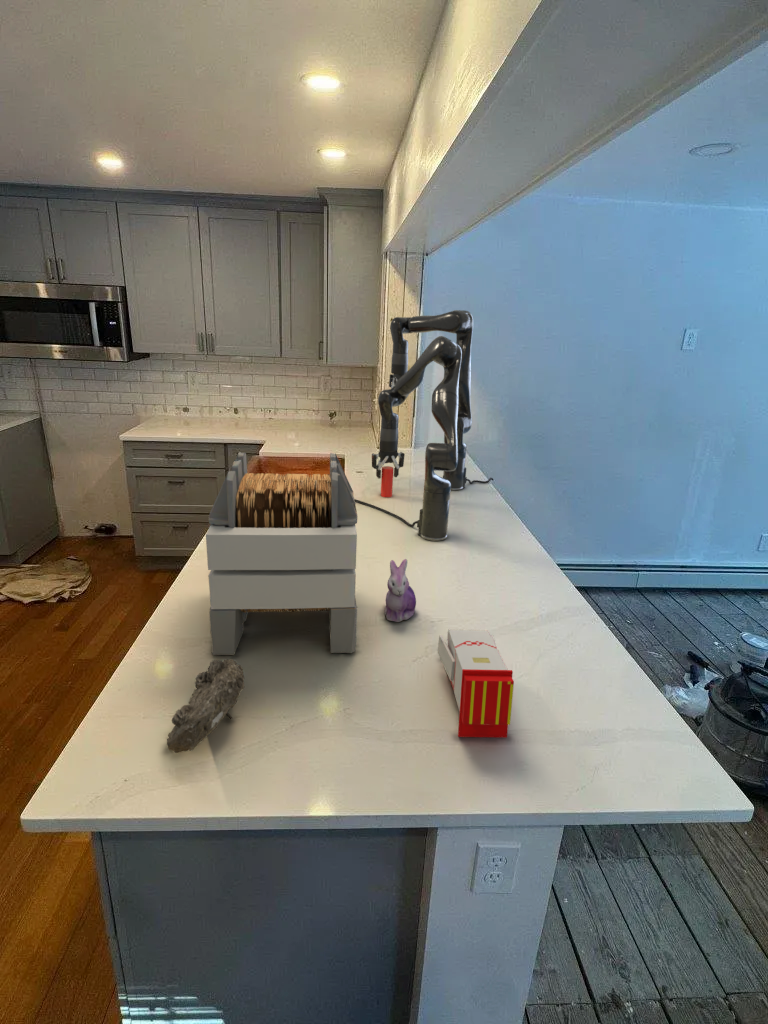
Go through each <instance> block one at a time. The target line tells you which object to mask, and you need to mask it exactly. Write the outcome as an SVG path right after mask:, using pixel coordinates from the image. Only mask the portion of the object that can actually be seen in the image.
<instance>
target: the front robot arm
mask: <svg viewBox="0 0 768 1024" xmlns="http://www.w3.org/2000/svg"><path fill="white" fill-rule="evenodd" d="M461 357H462V351H461V348H460V346H459V345H458V344H456V342H455V341H452V340H451V339H449V338H448V337H446V336H443V335H438V336H437V337H435V338H434V339H433V340H432V341H431V342H430V343H429V344H428V346H426V348H425V349H424V351H423V352H422V353H421V354H420V356H419V357H418V358H417V359H416V361H415V362H414V363H413V364H412V366H411V367H410V368H409V369H408V371H407V372H406V373H405V374H404V375H403V376H402V377H401V378H400V379H398V380H397V382H396V383H395V388H394V389H391V388H389V389H383V390H381V391H380V392H379V394H378V396H377V404H378V408H379V413H380V430H379V450H378V451H379V452H378V453H372V454H371V468H372V469H374V470H376V472H375V475H376V478H377V479H380V480H381V476H382V467H384V466H385V464H392V465H393V468H394V469H393V478H398V477H399V476H400V475H399V471H400V468H403V467H404V465H405V464H404V463H405V456H406V455H405V453H404V452H403V451H400V452H398V449H399V421H400V420H399V414H397V413H396V412H393V408H395V407H399V406H401V405H402V404H403V403H404V402H405V401H406V400H407V398H408V397H409V395H410V394H411V393H413V392H414V391H415V390H416V389H417V388H418V387H419V386H420V385H421V383H422V382H423V379H424V376H425V373H426V372H425V371H426V368H427V367H428V365H429V364H431V363H436V364H438V365H439V366H441V367H442V368H443V379H442V380H441V381H440V383H438V385H436V386H435V388H434V390H433V392H432V393H431V414H432V417H433V418H434V420H435V422H436V423H437V424H438V425H439V427H440V428H441V430H442V432H443V434H444V433H445V436H446V438H447V442H448V444H446V443H444V442H429V443H428V444H427V445H426V448H425V452H424V453H425V454H424V479H423V481H424V482H423V493H422V496H423V497H422V506H421V508H420V509H419V516H418V520H416V521H413V522H412V524H411V523H409V522H408V521H407V520H406V519H404V518H403V517H401V516H399V515H398V514H395V513H393V512H391V511H389V510H386V509H383V508H382V507H380V506H377V505H374V504H371V503H368V502H365V501H362V500H359V499H356V498H354V501H355V503H359V504H362V505H365V506H367V507H370V508H374V509H376V510H378V511H381V512H384V513H385V514H388V515H390V516H392V517H395V518H396V519H398V520H400V521H402V522H403V523H404V524H405V525H407V526H408V527H409V528H413V527H415V526H416V528H418V530H417V535H418V536H420V538H421V539H424V540H426V541H432V542H440V541H444V540H446V539H447V538H448V525H449V517H450V516H449V514H450V504H451V494H452V493H451V491H452V490H451V483H450V482H449V481H448V480H446V479H444V478H443V476H442V477H441V476H440V475H438V474H437V473H435V472H436V471H437V472H443V471H454V470H455V469H456V467H457V464H458V440H457V419H458V385H459V372H460V365H461ZM378 458H379V459H378ZM397 458H398V461H397ZM377 460H378V462H377Z"/></svg>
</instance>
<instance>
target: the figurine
mask: <svg viewBox="0 0 768 1024" xmlns="http://www.w3.org/2000/svg"><path fill="white" fill-rule="evenodd" d="M407 567H408V559H406V558H404V559H403V560H402V561H401V563H400V565H399V566H398V565H397V563H396V562H395V561H394V560H393V559H391V560H390V561H389V570H390V576H389V578H388V579H387V589H388V591H387V592H386V594H385V595H386V596H385V607H384V615H385V616H386V620H387V621H391V622H395V623H400V622H402V621H406V620H409V619H410V618H411V617H413V616H414V615H415V610H416V606H417V597H416V593H415V591H414V590H413V587H411V586H410V582H409V579H408V577H407V574H406V571H407Z"/></svg>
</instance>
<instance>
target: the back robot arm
mask: <svg viewBox="0 0 768 1024" xmlns="http://www.w3.org/2000/svg"><path fill="white" fill-rule="evenodd" d="M473 317H474V316H473V315H472V313H471V312H470V311H469V310H466V309H465V310H464V309H462V310H461V309H454V310H451V311H448V312H444V313H442V314H436V315H435V314H434V315H414V316H411V317H410V316H408V317H406V316H405V317H404V316H395V317H393V318H392V319H391V322H390V325H389V329H390V335H391V341H392V354H391V364H390V365H391V367H390V370H391V371H390V372H391V373H390V374H389V380H388V381H389V382H388V387H389V388H390V389H394V388H395V383H396V382H397V380H398V379H400V378H401V377H402V376H403V375H404V374H405V373H406V372H407V371H408V370H409V369H408V368H409V341H408V340H407V339H405V338H404V335H406V334H408V335H409V334H422V333H429V332H430V333H431V332H444V333H449V334H454V335H456V336H455V337H456V339H455V340H456V342H455V343H456V344H458V345H459V346H460V348H461V351H462V357H461V365H460V372H459V385H458V419H457V440H458V464H457V467H456V469H455V470H454V471H442V478H444V479H446V480H448V481H449V482H450V483H451V491H461V490H463V489H465V488H466V484H467V482H468V483H469V484H470V485H472V484H474V483H479V484H488V483H490V482H491V481H494V478H493V477H489V478H488V479H487V480H485V481H483V480H477V479H473V480H470V479H469V478H467V476H466V475H467V467H466V456H467V444H466V443H465V442H464V434H467V433H468V432H470V430H471V428H472V424H473V418H472V406H471V377H472V375H471V373H472V372H471V371H472V369H471V368H472V365H471V362H472V361H471V360H472V341H473V331H474V318H473ZM443 443H446V444H448V442H447V438H446V436H445V433H444V432H443Z"/></svg>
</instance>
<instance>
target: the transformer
mask: <svg viewBox="0 0 768 1024" xmlns="http://www.w3.org/2000/svg"><path fill="white" fill-rule="evenodd" d="M354 499H355V496H354V490H353V488H352V487H351V484H350V482H349V479H348V477H347V475H346V472H345V471H344V468H343V466H342V464H341V462H340V460H339V457H338V456H337V454H336V453H333V452H330V453H329V473H326V474H325V473H324V474H322V475H321V473H312V474H310V475H309V474H307V473H285V474H284V473H283V474H282V473H281V474H280V473H263V472H261V473H257V472H256V473H253V472H251V473H249V472H248V461H247V452H241V451H239V452H238V453H237V455H236V458H235V459H234V461H233V462H232V465H231V467H230V470H228V471H227V474H226V476H225V478H224V480H223V483H222V485H221V487H220V489H219V492H218V494H217V496H216V498H215V500H214V503H213V505H212V507H211V509H210V511H209V514H208V524H209V527H208V528H207V531H206V533H205V543H206V544H205V545H206V546H205V547H206V557H207V559H206V560H207V570H208V571H209V573H208V586H209V587H208V589H209V604H210V607H209V612H208V613H209V614H208V615H209V628H210V629H209V630H210V637H211V649H212V651H211V654H212V656H216V657H217V656H218V657H219V656H221V655H223V656H224V655H227V656H228V655H229V656H234V655H235V653H236V651H237V648H238V646H239V644H240V641H241V638H242V636H243V633H244V623H246V621H247V617H248V613H274V612H276V613H279V612H280V613H281V612H283V613H287V612H289V613H294V612H297V613H298V612H304V611H305V612H325V611H326V612H328V616H329V617H328V618H329V619H328V620H329V644H330V645H329V646H330V647H329V648H330V649H329V650H330V654H332V653H333V654H337V653H338V654H340V653H347V654H353V653H354V652H356V651H357V623H358V622H357V619H358V606H357V598H356V578H357V573H356V569H357V545H358V543H357V542H358V533H357V532H358V531H357V527H356V524H357V523H358V512H357V506H356V502H355V501H354Z"/></svg>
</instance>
